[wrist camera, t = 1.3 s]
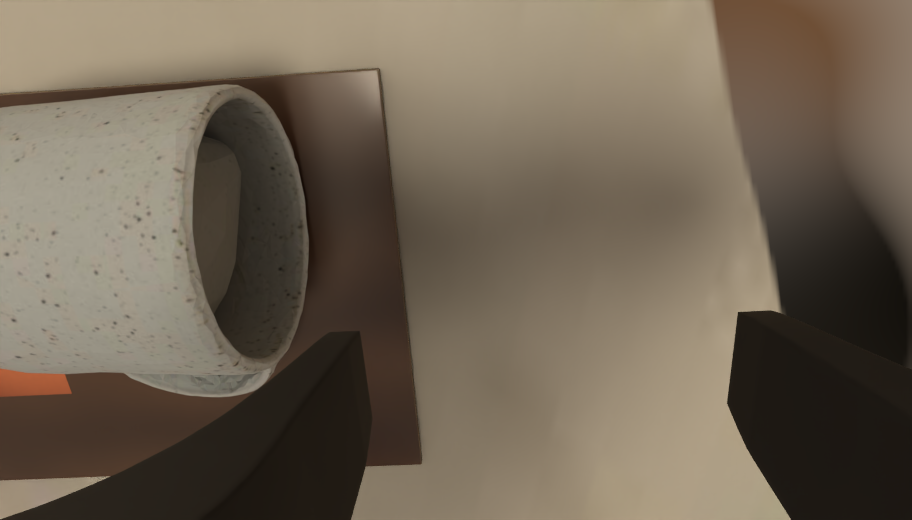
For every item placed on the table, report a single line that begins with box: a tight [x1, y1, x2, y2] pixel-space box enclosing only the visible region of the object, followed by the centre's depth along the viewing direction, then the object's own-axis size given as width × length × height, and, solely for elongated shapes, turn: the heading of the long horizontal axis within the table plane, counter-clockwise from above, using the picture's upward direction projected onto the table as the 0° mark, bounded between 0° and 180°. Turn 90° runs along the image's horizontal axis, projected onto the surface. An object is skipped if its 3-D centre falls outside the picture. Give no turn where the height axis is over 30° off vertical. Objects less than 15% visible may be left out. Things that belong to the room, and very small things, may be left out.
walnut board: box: [0, 68, 422, 480], centre depth 22 cm, size 15×25×1 cm, turn 94°
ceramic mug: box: [0, 84, 309, 397], centre depth 17 cm, size 11×8×8 cm
